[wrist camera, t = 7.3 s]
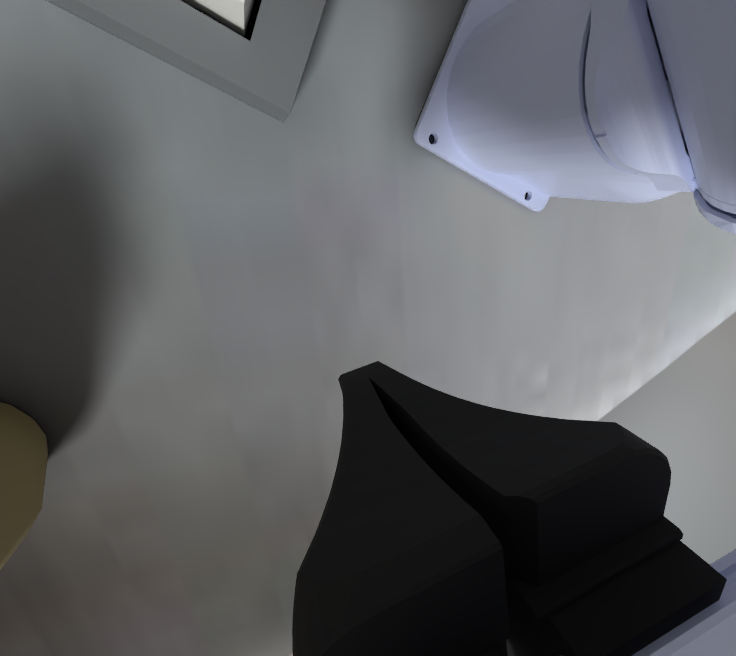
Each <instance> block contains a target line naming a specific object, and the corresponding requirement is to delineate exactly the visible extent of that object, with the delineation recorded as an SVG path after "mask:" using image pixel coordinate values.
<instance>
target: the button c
mask: <svg viewBox="0 0 736 656" xmlns="http://www.w3.org/2000/svg"><path fill="white" fill-rule="evenodd" d="M184 1H185V2H187V3H189V4H190V5H192V6H194V7H196V8H197V9H199V10H201V11H202V12H204V13H206V14H208V15H209V16H211V17H213V18H214V19H216V20H218V21H219V22H221V23H223V24H225V25H226V26H228V27H230V28H231V29H233V30H235V31H236V32H238V33H240V34H242V35H243V36H245V32H246V29H247V25H248V22H249V18H250V14H251V11H252V7H253V4H254V0H184Z"/></svg>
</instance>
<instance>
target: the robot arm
mask: <svg viewBox="0 0 736 656" xmlns="http://www.w3.org/2000/svg"><path fill="white" fill-rule="evenodd" d="M430 134H432V135H433V136H434V138H435V140H434V143H433V144H430V142H429V136H430ZM414 140H415V142H416V143H417V144H418V145H420V146H422V147H423V148H425V149H427V150H429V151H430V152H432V153H434V154H435V155H437V156H439V157H441V158H442V159H444V160H446V161H447V162H449V163H451V164H453V165H454V166H456V167H458V168H460V169H461V170H463V171H465V172H466V173H468V174H470V175H472V176H473V177H475V178H477V179H479V180H480V181H482V182H484V183H485V184H487V185H489V186H491V187H492V188H494V189H496V190H498V191H499V192H501V193H503V194H504V195H506V196H508V197H510V198H511V199H513V200H515V201H517V202H518V203H520V204H522V205H523V206H525V207H527V208H529V209H530V210H532V211H541V210H542V209H543V208H544V207H545V205H546V203H547V202H548V200H549V198H550V196H551V197H563V198H575V199H588V200H600V201H612V202H625V203H644V202H650V201H655V200H659V199H662V198H665V197H667V196H670V195H673V194H675V193H677V192H680V191H682V192H693V191H694V199H695V202H696V205H697V207H698V209H699V211H700V213H701V214H702V215H703V216H704V217H705V218H706V219H707V220H708V221H709V222H710V223H711V224H713V225H715V226H716V227H718V228H720V229H722V230H725V231H728V232H730V233H733V234H736V0H468V1H467V3H466V6H465V8H464V11H463V13H462V16H461V18H460V20H459V23H458V25H457V28H456V30H455V33H454V35H453V37H452V40H451V42H450V45H449V47H448V50H447V52H446V55H445V57H444V59H443V62H442V64H441V67H440V69H439V72H438V74H437V76H436V79H435V81H434V84H433V86H432V89H431V91H430V93H429V96H428V98H427V101H426V103H425V106H424V108H423V110H422V113H421V115H420V118H419V120H418V123H417V125H416V128H415V130H414ZM526 192H527V193H528V196H527V198H526V199H525V194H526ZM338 380H339V383H340V386H341V390H342V393H343V414H344V416H343V430H342V441H341V448H340V454H339V459H338V464H337V468H336V472H335V476H334V480H333V484H332V488H331V491H330V494H329V498H328V500H327V503H326V506H325V509H324V512H323V515H322V517H321V520H320V523H319V526H318V528H317V531H316V533H315V536H314V538H313V540H312V542H311V544H310V547H309V549H308V551H307V553H306V555H305V558H304V560H303V562H302V564H301V566H300V569H299V571H298V573H297V578H296V587H295V596H294V608H293V628H292V636H293V656H736V549H735V550H733V551H732V552H730V553H728V554H726V555H725V556H723V557H722V558H720V559H718V560H717V561H715V562H713V563H712V564H710V565H709V564H708V563H707V562H705V561H704V560H703V559H702V558H700V557H699V556H698V555H697V554H695V553H694V552H693V551H692V550H691V549H689V548H688V547H687V546H686V545H685V544H683V543H682V542H681V541H680V540H681V539H682V537H683V533H682V532H681V530H680V529H679V528H678V527H677V526H675V525H674V524H673V523H672V522H670V521H669V520H668V519H667V518H665V517H664V516H663V515H664V510H665V505H666V501H667V496H668V492H669V487H670V479H671V470H670V466H669V462H668V459H667V457H666V456H665V455H664V454H663V453H662V452H661V451H659V450H658V449H656V448H655V447H653V446H652V445H650V444H649V443H647V442H646V441H644V440H642V439H641V438H639V437H638V436H636V435H635V434H633V433H631V432H630V431H628V430H627V429H625V428H624V427H622V426H620V425H619V424H617V423H614V422H598V421H582V420H566V419H557V418H549V417H541V416H533V415H527V414H521V413H516V412H511V411H506V410H501V409H496V408H492V407H488V406H484V405H480V404H477V403H473V402H470V401H466V400H463V399H460V398H457V397H454V396H451V395H448V394H446V393H443V392H441V391H438V390H436V389H433V388H431V387H428V386H426V385H424V384H422V383H420V382H417V381H415V380H413V379H411V378H409V377H407V376H405V375H403V374H401V373H399V372H398V371H396V370H394V369H392V368H390V367H388V366H386V365H384V364H382V363H381V362H379V361H377V362H374V363H371V364H369V365H366V366H363V367H361V368H358V369H355V370H353V371H350V372H347V373H344V374H342V375H341V376H340V377H339V379H338Z"/></svg>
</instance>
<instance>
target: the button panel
mask: <svg viewBox="0 0 736 656" xmlns="http://www.w3.org/2000/svg"><path fill="white" fill-rule="evenodd" d="M46 1H48V2H50V3H52V4H54V5H56V6H58V7H60V8H62V9H64V10H66V11H68V12H70V13H72V14H74V15H75V16H77V17H79V18H81V19H83V20H85V21H87V22H89V23H91V24H93V25H95V26H97V27H99V28H101V29H103V30H105V31H107V32H109V33H110V34H112V35H114V36H116V37H118V38H120V39H122V40H124V41H126V42H128V43H130V44H132V45H134V46H136V47H138V48H140V49H142V50H143V51H145V52H147V53H149V54H151V55H153V56H155V57H157V58H159V59H161V60H163V61H165V62H167V63H169V64H171V65H173V66H175V67H177V68H178V69H180V70H182V71H184V72H186V73H188V74H190V75H192V76H194V77H196V78H198V79H200V80H202V81H204V82H206V83H208V84H210V85H212V86H213V87H215V88H217V89H219V90H221V91H223V92H225V93H227V94H229V95H231V96H233V97H235V98H237V99H239V100H241V101H243V102H245V103H247V104H248V105H250V106H252V107H254V108H256V109H258V110H260V111H262V112H264V113H266V114H268V115H270V116H272V117H274V118H276V119H278V120H280V121H282V122H284V121H285V119H286V118H287V117H288V115H289V114H290V112H291V108H292V105H293V102H294V99H295V96H296V93H297V90H298V87H299V84H300V81H301V77H302V74H303V71H304V68H305V65H306V62H307V59H308V56H309V53H310V50H311V46H312V43H313V40H314V37H315V34H316V31H317V28H318V25H319V22H320V19H321V15H322V12H323V9H324V6H325V3H326V0H262V1H261V5H260V8H259V12H258V15H257V19H256V23H255V26H254V30H253V33H252V37H251V40H250V41H249V40H247V39H246V38H244V37H242V36H241V35H239V34H237V33H235V32H234V31H232V30H230V29H229V28H227V27H225V26H224V25H222V24H220V23H218V22H217V21H215V20H213V19H212V18H210V17H208V16H206V15H205V14H203V13H201V12H200V11H198V10H196V9H195V8H193V7H191V6H189V5H188V4H186V3H184V2H183V1H181V0H46Z"/></svg>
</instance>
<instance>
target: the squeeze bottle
mask: <svg viewBox="0 0 736 656" xmlns="http://www.w3.org/2000/svg"><path fill="white" fill-rule="evenodd" d="M47 458H48V449H47V440H46V435H45V434H44V432H43V431H42V430H41V428H40V427H39V426H38V424H37V423H36V422H35V420H34V419H33V418H31V417H30V416H28V415H26V414H25V413H23V412H22V411H20V410H18V409H17V408H15V407H13V406H12V405H9V404H6V403H2V402H0V570H1V568H2V567H3V566H4V564H5V563H6V562H7V560H8V559H9V558H10V556H11V555H12V554H13V552H14V551H15V550H16V548H17V547H18V546H19V544H20V543H21V542H22V541H23V539H24V538H25V537H26V535H27V534H28V533H29V531H30V529H31V527H32V525H33V523H34V521H35V519H36V517H37V516H38V514H39V512H40V510H41V508H42V501H43V492H44V484H45V475H46V467H47Z"/></svg>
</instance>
